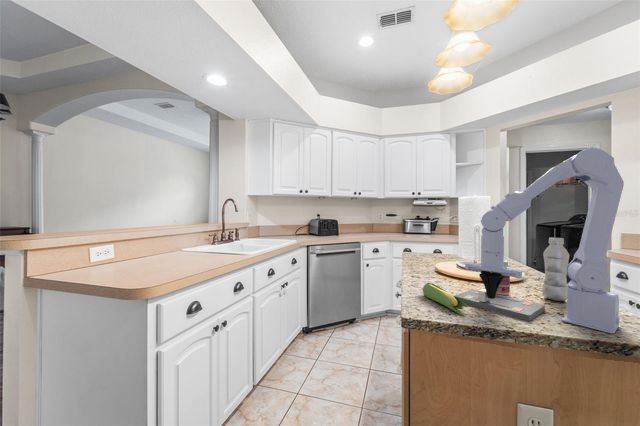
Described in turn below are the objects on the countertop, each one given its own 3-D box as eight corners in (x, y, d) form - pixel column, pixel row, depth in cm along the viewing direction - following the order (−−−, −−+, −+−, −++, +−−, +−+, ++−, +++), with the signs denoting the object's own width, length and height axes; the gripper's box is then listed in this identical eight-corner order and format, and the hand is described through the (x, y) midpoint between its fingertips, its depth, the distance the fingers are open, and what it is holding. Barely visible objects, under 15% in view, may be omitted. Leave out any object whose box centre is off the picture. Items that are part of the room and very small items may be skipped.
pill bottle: (514, 295, 95) (514, 261, 95) (497, 295, 94) (498, 262, 94) (500, 289, 101) (500, 258, 101) (484, 290, 100) (485, 259, 100)
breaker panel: (544, 310, 80) (544, 304, 80) (529, 321, 72) (529, 315, 72) (472, 293, 96) (472, 288, 96) (453, 300, 88) (453, 295, 88)
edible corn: (432, 294, 96) (432, 281, 96) (472, 316, 76) (473, 300, 76) (418, 295, 95) (418, 281, 95) (455, 317, 75) (455, 301, 75)
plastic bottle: (557, 297, 93) (559, 237, 93) (574, 303, 86) (575, 239, 86) (537, 296, 94) (538, 236, 93) (551, 303, 87) (553, 239, 86)
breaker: (489, 299, 84) (490, 289, 84) (484, 302, 82) (484, 292, 82) (483, 298, 85) (483, 288, 85) (478, 300, 83) (478, 290, 83)
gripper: (460, 249, 85) (459, 294, 85) (515, 256, 73) (514, 307, 74) (471, 248, 89) (470, 290, 90) (525, 254, 78) (524, 302, 78)
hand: (491, 297), depth 82 cm, fingers closed
